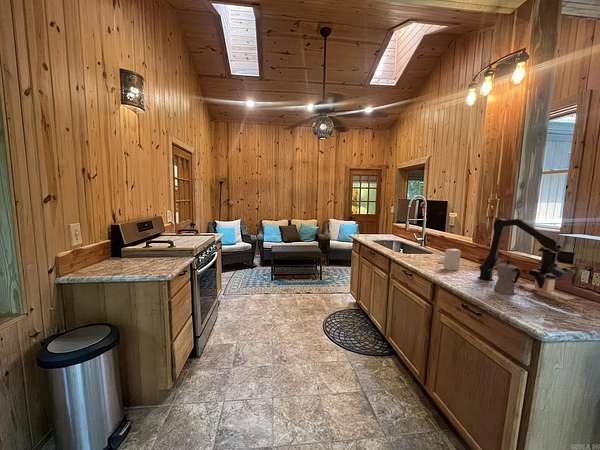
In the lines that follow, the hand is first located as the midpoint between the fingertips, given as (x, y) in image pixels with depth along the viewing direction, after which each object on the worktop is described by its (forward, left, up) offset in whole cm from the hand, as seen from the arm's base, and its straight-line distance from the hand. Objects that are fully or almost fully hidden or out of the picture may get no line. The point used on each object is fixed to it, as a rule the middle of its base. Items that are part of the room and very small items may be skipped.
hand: (543, 287), depth 148 cm
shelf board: (+1, +1, -4) cm, 4 cm away
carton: (0, 0, -1) cm, 1 cm away
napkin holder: (-4, +66, -4) cm, 66 cm away
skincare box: (-14, +50, -4) cm, 52 cm away
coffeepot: (-20, +5, -4) cm, 21 cm away
